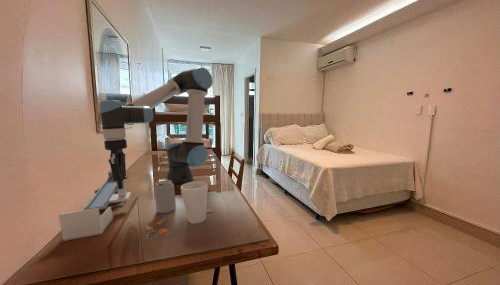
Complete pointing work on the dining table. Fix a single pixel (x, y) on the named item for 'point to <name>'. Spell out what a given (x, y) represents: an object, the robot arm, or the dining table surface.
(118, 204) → the fulcrum
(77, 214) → the white rectangular box
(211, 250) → the dining table surface
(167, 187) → the can
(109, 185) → the lever
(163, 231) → the key chain
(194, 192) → the foam cup
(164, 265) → the dining table surface
